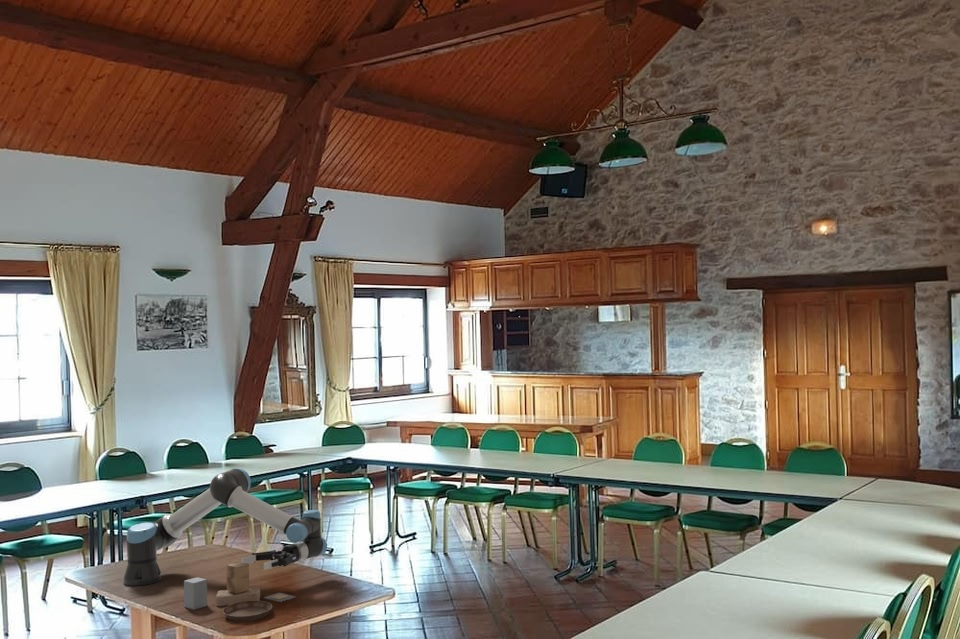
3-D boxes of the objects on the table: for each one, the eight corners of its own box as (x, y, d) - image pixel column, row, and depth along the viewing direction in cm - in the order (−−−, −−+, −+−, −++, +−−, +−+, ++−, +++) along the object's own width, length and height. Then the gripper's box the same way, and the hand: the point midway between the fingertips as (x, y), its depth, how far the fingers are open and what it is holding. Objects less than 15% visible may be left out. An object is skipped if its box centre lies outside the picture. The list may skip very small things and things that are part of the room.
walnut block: (227, 590, 356) (226, 564, 356) (240, 587, 360) (240, 561, 360) (235, 593, 352) (235, 567, 352) (249, 590, 356) (248, 564, 356)
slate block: (184, 607, 350) (183, 580, 350) (197, 603, 355) (197, 577, 355) (193, 609, 346) (193, 583, 346) (207, 605, 351) (206, 579, 351)
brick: (215, 607, 350) (215, 595, 350) (217, 601, 358) (217, 589, 358) (259, 604, 353) (259, 592, 353) (260, 598, 361) (260, 586, 361)
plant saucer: (257, 625, 327) (257, 616, 327) (213, 622, 332) (213, 613, 332) (281, 610, 344) (280, 602, 344) (238, 607, 349) (238, 599, 349)
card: (263, 598, 359) (263, 596, 359) (279, 593, 365) (279, 592, 365) (280, 602, 353) (280, 601, 353) (296, 597, 359) (296, 596, 359)
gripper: (315, 566, 371) (273, 578, 354) (275, 557, 386) (233, 569, 370) (314, 547, 371) (273, 558, 354) (274, 540, 386) (233, 550, 370)
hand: (252, 564), depth 362 cm, fingers open, 13 cm apart
